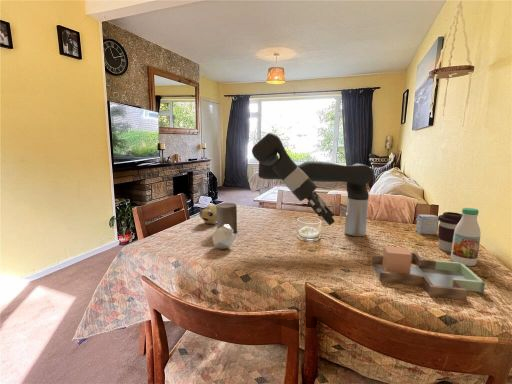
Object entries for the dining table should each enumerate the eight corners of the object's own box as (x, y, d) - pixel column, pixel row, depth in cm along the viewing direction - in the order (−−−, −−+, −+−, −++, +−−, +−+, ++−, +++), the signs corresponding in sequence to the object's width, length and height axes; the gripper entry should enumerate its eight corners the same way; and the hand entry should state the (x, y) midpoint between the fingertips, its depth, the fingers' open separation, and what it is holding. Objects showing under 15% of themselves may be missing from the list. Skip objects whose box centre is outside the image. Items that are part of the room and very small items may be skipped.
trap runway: (383, 292, 82) (384, 281, 81) (369, 257, 107) (369, 248, 106) (495, 305, 75) (497, 293, 75) (452, 264, 100) (453, 255, 100)
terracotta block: (385, 276, 91) (387, 252, 89) (381, 268, 96) (383, 246, 95) (409, 278, 89) (412, 254, 88) (404, 270, 95) (406, 247, 93)
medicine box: (432, 231, 137) (434, 214, 136) (437, 234, 133) (439, 217, 131) (415, 231, 138) (417, 214, 136) (419, 234, 133) (421, 216, 132)
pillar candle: (240, 231, 138) (240, 201, 135) (230, 237, 129) (230, 205, 126) (223, 228, 142) (222, 199, 139) (213, 234, 133) (211, 203, 130)
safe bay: (452, 290, 83) (453, 279, 82) (434, 269, 96) (435, 260, 96) (483, 293, 81) (485, 282, 81) (460, 272, 95) (461, 262, 94)
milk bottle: (445, 258, 106) (452, 206, 103) (464, 257, 107) (471, 206, 103) (461, 266, 99) (469, 211, 95) (482, 266, 99) (490, 211, 96)
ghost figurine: (235, 251, 112) (235, 227, 110) (211, 252, 111) (211, 228, 109) (235, 243, 121) (235, 221, 119) (213, 244, 120) (212, 221, 118)
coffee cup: (459, 246, 118) (463, 212, 115) (467, 255, 108) (473, 218, 106) (431, 243, 121) (436, 210, 118) (438, 252, 112) (442, 215, 109)
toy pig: (196, 225, 146) (195, 206, 144) (208, 220, 157) (207, 201, 155) (212, 228, 142) (212, 207, 140) (223, 221, 153) (223, 202, 152)
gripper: (293, 188, 102) (323, 221, 102) (288, 194, 89) (323, 232, 88) (309, 174, 100) (339, 208, 100) (306, 178, 87) (342, 218, 86)
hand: (332, 220), depth 94 cm, fingers open, 8 cm apart
